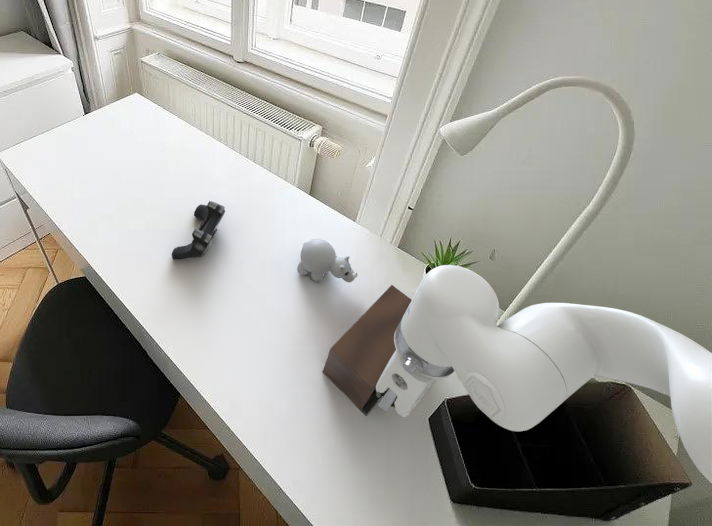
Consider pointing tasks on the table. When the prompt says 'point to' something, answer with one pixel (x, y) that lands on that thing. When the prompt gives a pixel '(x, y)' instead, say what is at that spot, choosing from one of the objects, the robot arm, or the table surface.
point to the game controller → (201, 231)
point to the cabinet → (367, 350)
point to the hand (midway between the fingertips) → (391, 398)
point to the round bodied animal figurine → (324, 261)
